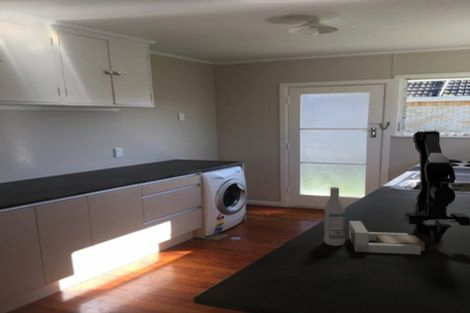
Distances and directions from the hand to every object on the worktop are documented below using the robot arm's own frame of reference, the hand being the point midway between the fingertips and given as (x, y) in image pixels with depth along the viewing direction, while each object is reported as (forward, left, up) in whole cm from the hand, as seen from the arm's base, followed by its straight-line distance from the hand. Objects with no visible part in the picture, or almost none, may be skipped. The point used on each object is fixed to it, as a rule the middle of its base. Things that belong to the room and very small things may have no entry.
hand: (435, 243), depth 117 cm
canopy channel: (+18, 0, -1) cm, 18 cm away
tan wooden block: (+11, 0, -2) cm, 12 cm away
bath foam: (+33, -1, -2) cm, 33 cm away
